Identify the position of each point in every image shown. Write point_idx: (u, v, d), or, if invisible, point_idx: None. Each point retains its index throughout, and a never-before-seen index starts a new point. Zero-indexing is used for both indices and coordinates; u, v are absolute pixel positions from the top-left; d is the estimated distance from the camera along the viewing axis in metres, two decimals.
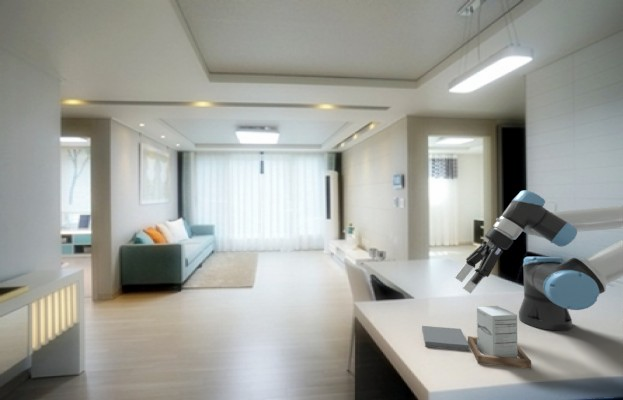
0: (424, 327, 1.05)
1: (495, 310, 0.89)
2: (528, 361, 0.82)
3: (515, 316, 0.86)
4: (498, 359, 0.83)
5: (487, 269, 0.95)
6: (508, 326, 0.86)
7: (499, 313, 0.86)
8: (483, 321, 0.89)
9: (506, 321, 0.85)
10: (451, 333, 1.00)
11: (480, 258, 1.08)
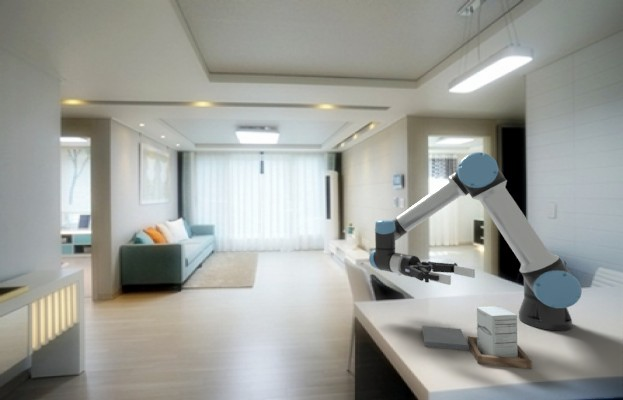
0: (424, 327, 1.05)
1: (494, 310, 0.89)
2: (528, 361, 0.82)
3: (515, 316, 0.86)
4: (498, 359, 0.83)
5: (417, 275, 0.99)
6: (508, 326, 0.86)
7: (499, 313, 0.86)
8: (483, 321, 0.89)
9: (506, 321, 0.86)
10: (451, 333, 1.00)
11: (439, 266, 1.08)
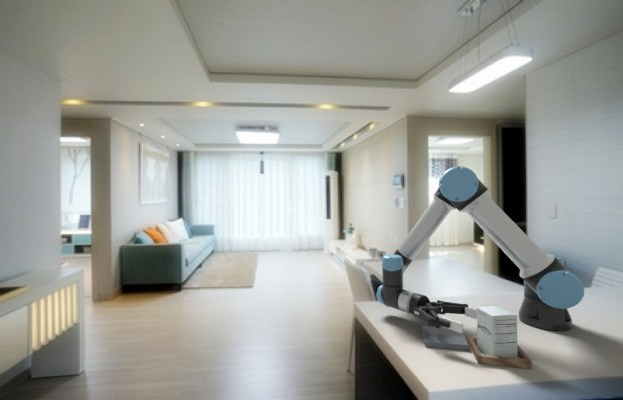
0: (424, 327, 1.05)
1: (494, 310, 0.89)
2: (528, 361, 0.82)
3: (515, 316, 0.86)
4: (498, 359, 0.83)
5: (428, 320, 0.96)
6: (508, 326, 0.86)
7: (499, 313, 0.86)
8: (483, 321, 0.89)
9: (506, 321, 0.86)
10: (451, 333, 1.00)
11: (449, 307, 1.05)
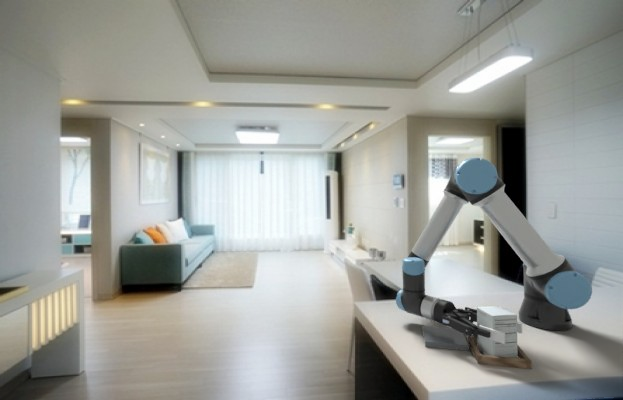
0: (424, 327, 1.05)
1: (494, 310, 0.89)
2: (528, 361, 0.82)
3: (515, 316, 0.86)
4: (498, 359, 0.83)
5: (464, 329, 0.88)
6: (508, 326, 0.86)
7: (499, 313, 0.86)
8: (483, 321, 0.89)
9: (506, 321, 0.85)
10: (451, 333, 1.00)
11: None
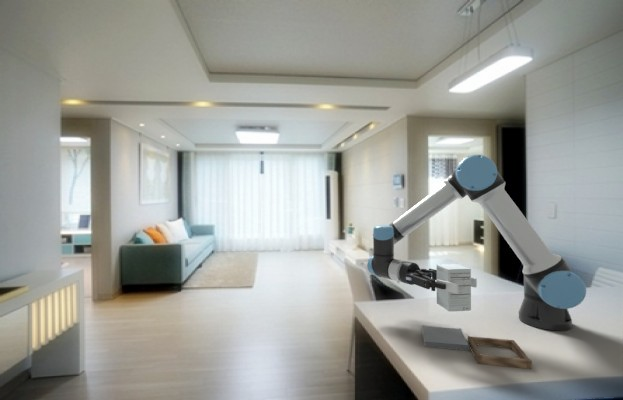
0: (424, 327, 1.05)
1: (451, 266, 0.96)
2: (528, 361, 0.82)
3: (469, 270, 0.93)
4: (498, 359, 0.83)
5: (423, 283, 0.96)
6: (462, 279, 0.93)
7: (454, 268, 0.94)
8: (441, 276, 0.97)
9: (460, 274, 0.93)
10: (451, 333, 1.00)
11: None
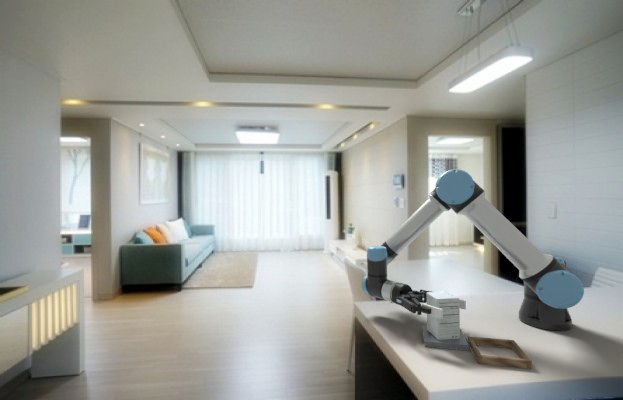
0: (424, 327, 1.05)
1: (441, 295, 0.99)
2: (528, 361, 0.82)
3: (457, 299, 0.96)
4: (498, 359, 0.83)
5: (410, 307, 0.99)
6: (451, 308, 0.96)
7: (443, 297, 0.97)
8: (430, 304, 0.99)
9: (449, 304, 0.96)
10: None
11: None
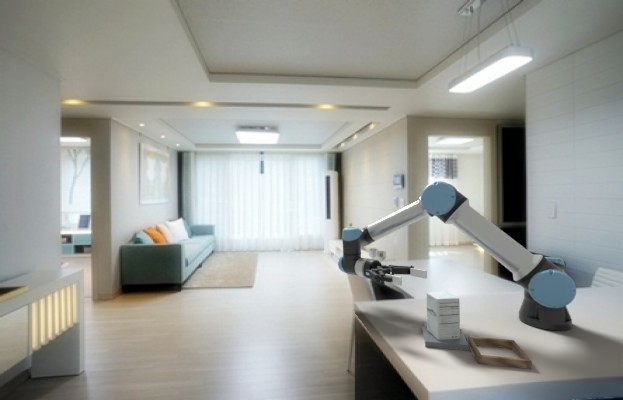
0: (424, 327, 1.05)
1: (441, 295, 0.99)
2: (528, 361, 0.82)
3: (457, 299, 0.96)
4: (498, 359, 0.83)
5: (374, 277, 1.10)
6: (451, 308, 0.96)
7: (443, 297, 0.97)
8: (430, 304, 0.99)
9: (449, 304, 0.96)
10: None
11: (397, 269, 1.19)
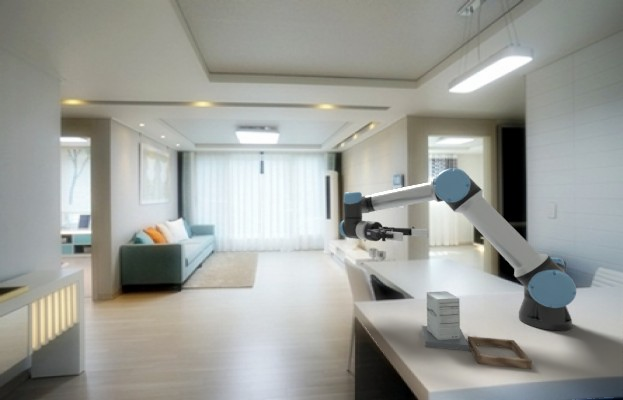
0: (424, 327, 1.05)
1: (441, 295, 0.99)
2: (528, 361, 0.82)
3: (457, 299, 0.96)
4: (498, 359, 0.83)
5: (375, 235, 1.09)
6: (451, 308, 0.96)
7: (443, 297, 0.97)
8: (430, 304, 0.99)
9: (449, 304, 0.96)
10: None
11: (398, 230, 1.18)
